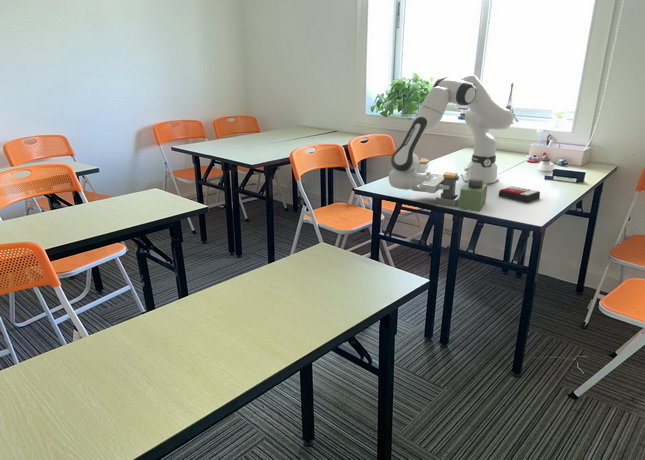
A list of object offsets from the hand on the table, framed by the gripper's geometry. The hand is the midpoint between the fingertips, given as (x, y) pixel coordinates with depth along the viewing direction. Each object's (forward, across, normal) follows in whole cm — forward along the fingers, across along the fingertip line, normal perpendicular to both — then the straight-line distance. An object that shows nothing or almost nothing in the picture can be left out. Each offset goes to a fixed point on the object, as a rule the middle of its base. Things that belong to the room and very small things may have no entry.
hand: (451, 185), depth 216 cm
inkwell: (+33, +85, +9) cm, 92 cm away
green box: (+10, 0, +8) cm, 13 cm away
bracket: (-1, 0, +8) cm, 8 cm away
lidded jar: (-31, +50, +9) cm, 59 cm away
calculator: (+27, +24, +9) cm, 37 cm away
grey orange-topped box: (-1, 0, +7) cm, 7 cm away
